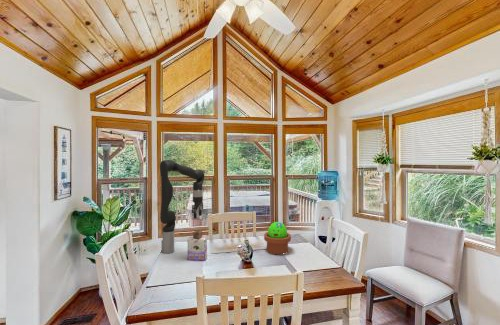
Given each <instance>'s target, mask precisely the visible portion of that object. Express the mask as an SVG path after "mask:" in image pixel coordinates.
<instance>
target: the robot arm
mask: <svg viewBox="0 0 500 325" xmlns="http://www.w3.org/2000/svg"><path fill="white" fill-rule="evenodd" d="M159 172H160V183H161V184H160V185H161V186H160V195H161V196H160V198H161V199H160V201H161V202H160V203H161V204H160V205H161V206H160V213H159V214H160V215H159V217H160V218H159V219H160V222H161V223H162V224H164V226H163V227H162V240H161V247H160V248H161V253H163V254H172V253H174V252H175V228H176V213H175V212H174V211H173V210H169V207H170V204H171V201H172V199H173V198H174V187H173V185H172V183H171V181H170V179H169V172H178V173H179V174H180V175H182V176H185V177H186V176H187V177H189V178H190V179H192V180H196V181H194V182H193V184H192V203H194V204H191V214H193V219H197V218H198V217H199V216H200V217H201V216H202V214H203V212H202V211H203V210H204V200H203V199H204V198H203V196H204V194H203V193H204V191H203V184H204V180H205V172H204V170H202V169H194V168H192V167H189V166H186V165H182V164H180V163H177V162H175V161H173V160H170V159H169V160H168V159H166V160H161V161H160V162H159ZM197 213H198V214H197ZM197 216H198V217H197Z"/></svg>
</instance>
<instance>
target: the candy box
mask: <svg viewBox="0 0 500 325" xmlns="http://www.w3.org/2000/svg"><path fill="white" fill-rule="evenodd" d="M207 259H208V237H206V236H205V237H203V236H202V238H200V239H193V236H190V237H189V238H187V261H195V262H196V261H198V262H206V260H207Z"/></svg>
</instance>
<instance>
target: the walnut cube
mask: <svg viewBox="0 0 500 325" xmlns="http://www.w3.org/2000/svg"><path fill="white" fill-rule="evenodd" d="M192 235H193V236H192V237H193V239H200V238H202V237H203V230H194V231H193V234H192Z"/></svg>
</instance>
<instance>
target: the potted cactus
mask: <svg viewBox="0 0 500 325" xmlns="http://www.w3.org/2000/svg"><path fill="white" fill-rule="evenodd" d="M263 235H264V237H263V239H264V241H265V242H266V251H268V252H267V253H269V254H271V253H272V254H271V255H275V254H283V253H286V252H287V251H289V243H290V242H291V241H292V235H291V234H290V233H289V232H288V231H287V227H286V225H285V224H284V223H283V222H280V221H273V222H271V224H270V225H269V226H268V230H267V232H265V233H264V234H263ZM287 253H288V252H287ZM287 253H286V254H287ZM283 255H284V254H283Z"/></svg>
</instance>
